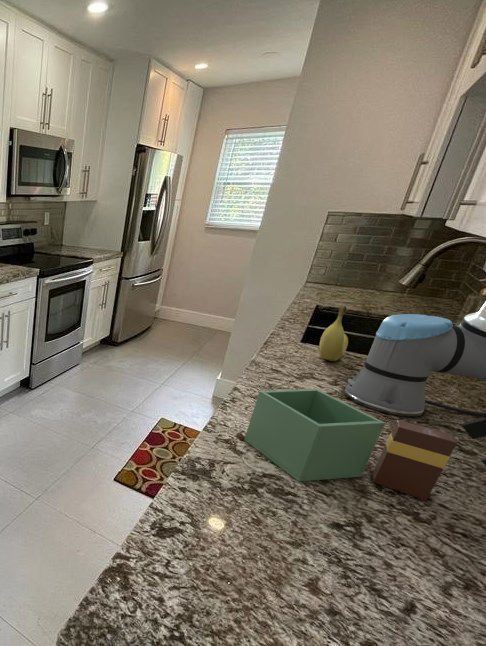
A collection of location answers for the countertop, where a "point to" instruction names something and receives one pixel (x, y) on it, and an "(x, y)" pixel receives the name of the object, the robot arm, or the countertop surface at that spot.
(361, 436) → the trash bin
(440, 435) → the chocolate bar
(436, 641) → the countertop surface
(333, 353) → the banana
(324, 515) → the countertop surface
